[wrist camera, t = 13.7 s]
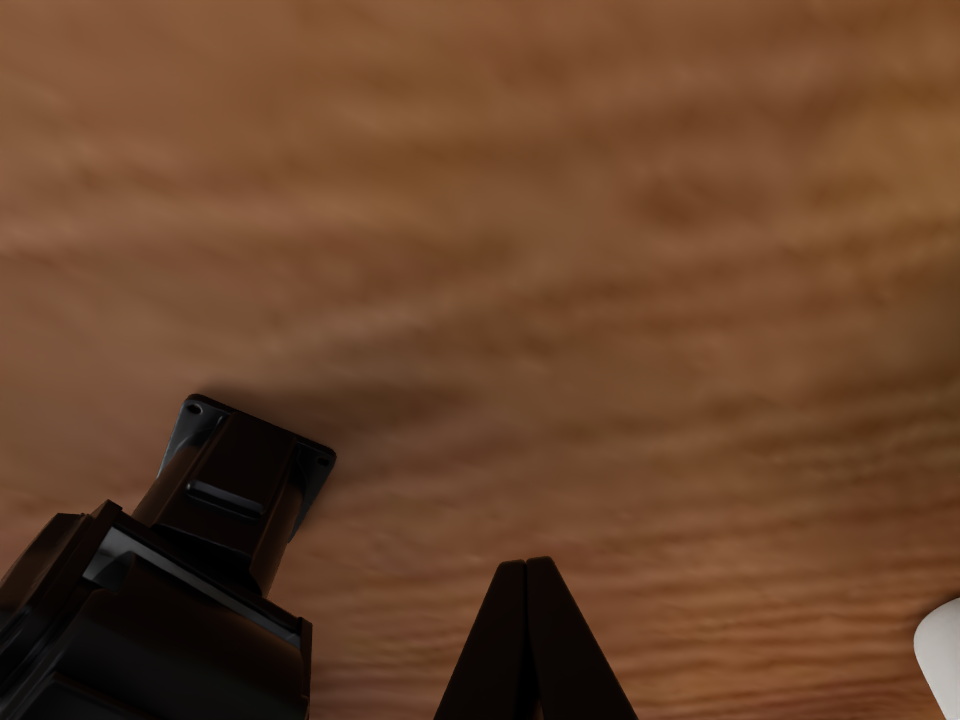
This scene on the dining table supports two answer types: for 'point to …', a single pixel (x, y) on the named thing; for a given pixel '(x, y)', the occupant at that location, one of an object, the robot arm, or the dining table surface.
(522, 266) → the dining table surface
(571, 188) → the dining table surface
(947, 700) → the cup
